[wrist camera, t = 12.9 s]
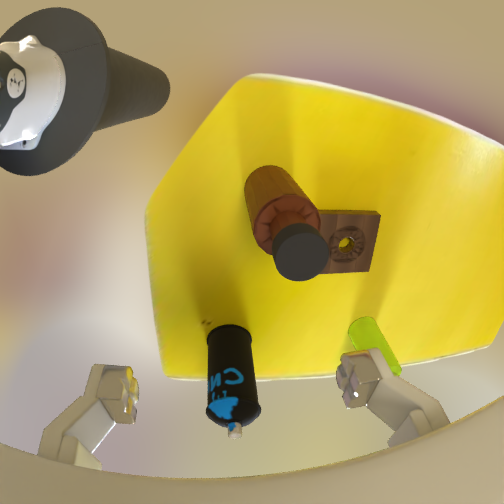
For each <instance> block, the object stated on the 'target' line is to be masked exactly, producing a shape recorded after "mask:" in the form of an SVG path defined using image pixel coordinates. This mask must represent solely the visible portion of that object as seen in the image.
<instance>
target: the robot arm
mask: <svg viewBox="0 0 504 504" xmlns="http://www.w3.org/2000/svg"><path fill="white" fill-rule="evenodd" d="M65 86H66V75H65V69H64V65H63V62H62V60H61V58H60V57H59V56H58V54H57V53H56V52H55V51H53V50H52V49H50V48H48V47H45V46H43V45H42V44H41V43H40V41H39V40H38V38H37V37H36V36H34V35H29V36H26V37H25V38H23V39H22V40H20V41H19V42H3V43H1V44H0V149H7V150H31V149H35V148H36V147H37V145H38V143H39V141H40V138H41V135H42V132H43V131H44V129H45V128H46V127H47V126H48V125H49V124H50V122H51V121H52V120H53V118H54V117H55V115H56V114H57V112H58V110H59V108H60V106H61V103H62V100H63V97H64V93H65ZM25 140H26V143H25ZM340 360H341V364H340V365H339V366H338V368H337V371H336V379H337V384H338V386H339V388H340V389H341V390H343V391H344V393H343V396H342V397H343V400H344V402H345V405H346V408H347V409H351V408H356V407H361V406H366V407H367V408H368V409H369V410H371V412H373V413H374V414H375V415H376V416H377V417H379V418H380V419H381V420H382V421H383V422H384V423H386V424H387V425H388V426H389V427H390V428H392V429H393V430H394V431H395V432H394V434H393V435H392V436H391V437H390V438H389V440H388V442H387V443H388V445H389V448H387V449H383V450H380V451H377V452H374V453H370V454H367V455H364V456H360V457H356V458H352V459H349V460H345V461H341V462H336V463H332V464H327V465H323V466H318V467H313V468H308V469H302V470H296V471H289V472H283V473H275V474H267V475H258V476H246V477H232V478H165V477H164V478H163V477H148V476H139V475H130V474H121V473H115V472H108V471H102V470H101V467H102V464H101V463H100V461H99V460H98V459H97V458H96V457H94V455H92V453H93V452H94V450H95V449H96V448H97V447H98V445H99V444H100V443H101V442H102V440H103V439H104V438H105V437H106V435H107V434H108V433H109V431H110V430H111V429H112V428H113V427H114V425H115V423H122V424H135V420H136V413H137V410H136V408H135V406H134V405H135V404H136V403H137V402H138V399H139V387H138V382H137V380H136V379H135V378H134V377H133V370H132V368H131V367H129V366H116V365H103V364H94V365H93V366H92V369H91V372H90V375H89V379H88V382H87V385H86V389H85V392H84V396H80V397H79V398H78V399H76V400H75V401H74V402H73V403H72V404H71V405H70V406H69V407H68V408H67V409H65V410H64V412H62V413H61V414H60V415H59V416H58V417H57V418H56V419H54V420H53V421H52V422H51V423H50V424H49V425H48V426H47V427H46V428H45V429H44V431H43V435H42V438H41V442H40V446H39V450H38V454H37V455H34V454H31V453H27V452H25V451H21V450H18V449H16V448H13V447H10V446H7V445H4V444H2V443H0V504H504V396H502V397H500V398H498V399H497V400H495V401H493V402H491V403H489V404H487V405H486V406H484V407H482V408H480V409H478V410H477V411H475V412H473V413H471V414H469V415H467V416H465V417H463V418H461V419H459V420H457V421H455V422H452V423H450V421H449V419H448V418H447V416H446V414H445V412H444V410H443V408H442V406H441V405H440V403H439V401H438V400H436V399H434V398H433V397H431V396H430V395H428V394H426V393H425V392H423V391H421V390H420V389H418V388H417V387H415V386H413V385H412V384H410V383H409V382H407V381H405V380H404V379H402V378H400V377H399V376H394V375H393V373H392V371H391V369H390V367H389V366H388V364H387V362H386V360H385V358H384V356H383V355H382V353H381V351H380V349H379V348H371V349H366V350H365V349H364V350H359V351H353V352H348V353H343V354H342V356H341V359H340Z"/></svg>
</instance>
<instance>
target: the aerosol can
mask: <svg viewBox="0 0 504 504" xmlns="http://www.w3.org/2000/svg"><path fill="white" fill-rule="evenodd" d="M251 343H252V338H251V335H250V333H249V332H248V331H247V330H246V329H244V328H242V327H240V326H237V325H223V326H219V327H217V328H215V329H213V330H212V331H211V332H210V333H209V335H208V337H207V344H208V406H207V408H206V414H207V416H208V417H209V419H211V420H212V421H214V422H215V423H216V424H218V425H220V426H222V427H226V428H228V437H229V438H231V439H238V438H241V437H242V428H241V427H243V426H246V425H249V424H250V423H252V422H253V421H254V420H255V419H256V418H257V417H258V416H259V415H260V413H261V407H260V405H259V403H258V396H257V388H256V380H255V373H254V365H253V357H252V349H251Z"/></svg>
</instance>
